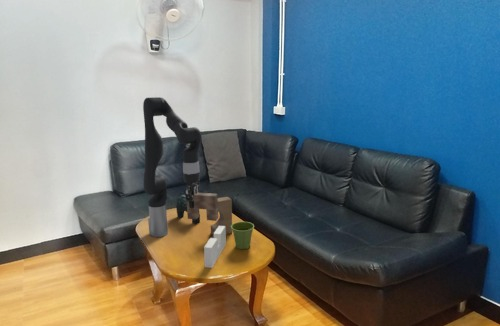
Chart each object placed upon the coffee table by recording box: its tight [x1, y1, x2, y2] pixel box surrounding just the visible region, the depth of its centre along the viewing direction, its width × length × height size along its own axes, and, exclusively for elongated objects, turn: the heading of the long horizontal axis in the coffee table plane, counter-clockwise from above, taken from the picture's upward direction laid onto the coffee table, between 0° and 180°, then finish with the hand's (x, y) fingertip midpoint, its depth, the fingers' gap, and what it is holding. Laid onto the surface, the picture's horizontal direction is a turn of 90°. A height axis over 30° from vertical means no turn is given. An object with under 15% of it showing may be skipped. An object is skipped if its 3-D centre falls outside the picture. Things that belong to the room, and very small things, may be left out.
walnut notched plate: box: [186, 192, 219, 222], centre depth 161 cm, size 14×4×12 cm, turn 78°
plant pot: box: [231, 221, 255, 250], centre depth 176 cm, size 12×12×11 cm
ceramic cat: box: [175, 192, 201, 225], centre depth 208 cm, size 20×6×20 cm, turn 49°
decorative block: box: [210, 196, 233, 237], centre depth 190 cm, size 11×6×20 cm, turn 116°
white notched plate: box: [203, 226, 227, 269], centre depth 168 cm, size 4×24×10 cm, turn 169°
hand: (193, 206), depth 162 cm, fingers closed on walnut notched plate, 3 cm apart
